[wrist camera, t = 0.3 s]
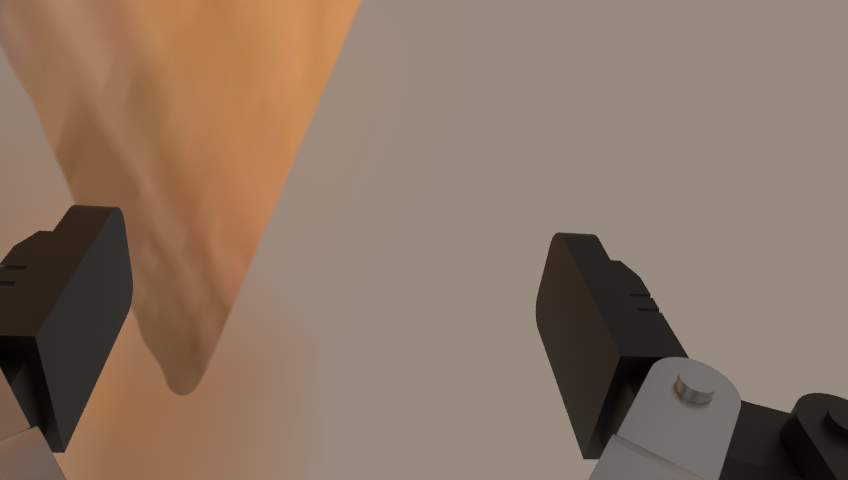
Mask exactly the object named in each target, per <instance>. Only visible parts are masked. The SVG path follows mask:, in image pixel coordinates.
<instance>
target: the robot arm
mask: <svg viewBox="0 0 848 480" xmlns="http://www.w3.org/2000/svg"><path fill="white" fill-rule="evenodd" d="M132 292H133V279H132V271H131V264H130V257H129V250H128V243H127V236H126V229H125V222H124V217H123V213H122V211H121V209H120V208H118V207H104V206H86V205H73V206H71V208H69V210H68V211H67V212H66V214H65V215H64V217H63V218H62V219H61V221H60V222H59V224H58V225H57V226H56V228H55V229H54V230H53V231H38V232H37V233H35V234H33V235H32V236H30V237H28V238H27V239H25V240H23V241H22V242H20V243H18V244H17V245H15V246H14V247H13V248H12V249H11V251H10V252H9V253H8V254H7V256H6V257H5V258H4V259H3V261H2V262H1V263H0V480H66V478H65V476H64V474H63V472H62V470H61V468H60V466H59V464H58V463H57V461H56V459H55V457H54V455H53V453H52V452H54V453H59V452H60V453H64V452H65V450H66V448H67V446H68V443H69V441H70V439H71V437H72V434H73V432H74V430H75V428H76V426H77V423H78V421H79V419H80V417H81V415H82V413H83V411H84V408H85V406H86V404H87V402H88V400H89V397H90V395H91V393H92V391H93V389H94V387H95V384H96V382H97V380H98V378H99V376H100V373H101V371H102V369H103V367H104V365H105V362H106V360H107V358H108V356H109V354H110V351H111V349H112V347H113V345H114V343H115V341H116V338H117V336H118V334H119V332H120V330H121V327H122V325H123V323H124V321H125V319H126V316H127V314H128V312H129V309H130V305H131V300H132ZM536 321H537V327H538V330H539V333H540V336H541V339H542V342H543V344H544V347H545V350H546V353H547V356H548V359H549V362H550V364H551V367H552V370H553V373H554V376H555V379H556V381H557V384H558V387H559V390H560V393H561V396H562V399H563V402H564V405H565V407H566V410H567V413H568V416H569V419H570V421H571V425H572V427H573V430H574V433H575V436H576V439H577V441H578V445H579V447H580V450H581V453H582V456H583V459H599V461H598V463H597V465H596V467H595V468H594V470H593V472H592V474H591V476H590V478H589V480H848V400H846V399H843V398H840V397H837V396H834V395H830V394H823V393H812V394H807V395H804V396H802V397H801V398H800V399H799V400H798V401H797V403H796V404H795V406H794V408H793V410H792V411H791V413H786V412H783V411H779V410H775V409H771V408H767V407H763V406H760V405H755V404H752V403H748V402H745V401H742V400H741V399H740V396H739V393H738V391H737V389H736V388H735V386H734V385H733V384H732V383H731V382H730V381H729V380H728V379H727V378H726V377H725V376H724V375H723V374H721V373H720V372H718V371H717V370H715V369H714V368H712V367H710V366H708V365H706V364H704V363H701V362H699V361H696V360H692V359H689V357H688V356H687V354H686V352H685V351H684V349H683V348H682V346H681V344H680V343H679V341H678V339H677V337H676V336H675V334H674V333H673V331H672V329H671V328H670V326H669V324H668V323H667V321H666V320H665V318H664V316H663V315H662V313H659V308H658V306H657V305H656V303H655V301H654V300H653V298H650V293H649V291H648V290H647V288H646V286H645V285H644V283H643V281H642V280H641V278H640V277H639V276H638V275H637V274H636V273H634V272H633V271H632V270H631V269H629V268H628V267H627V266H626V265H625V264H623V263H622V262H621V261H614V260H610V258H609V257H608V255H607V253H606V251H605V250H604V248H603V246H602V244H601V242H600V241H599V239H598V237H597V236H596V235H594V234H576V233H556V234H555V235H554V236H553V238H552V241H551V244H550V248H549V252H548V256H547V260H546V264H545V268H544V272H543V275H542V280H541V283H540V287H539V292H538V296H537V301H536Z"/></svg>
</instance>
